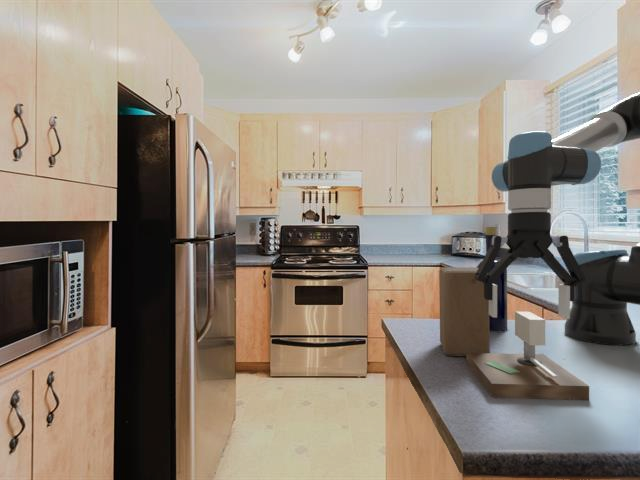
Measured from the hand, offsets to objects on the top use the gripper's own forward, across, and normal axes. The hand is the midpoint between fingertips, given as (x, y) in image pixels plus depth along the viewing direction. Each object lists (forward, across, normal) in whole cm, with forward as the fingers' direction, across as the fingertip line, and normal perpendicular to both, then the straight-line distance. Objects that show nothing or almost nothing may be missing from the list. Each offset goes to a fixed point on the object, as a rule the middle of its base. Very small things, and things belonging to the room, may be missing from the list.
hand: (527, 316), depth 74 cm
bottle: (+12, -5, -35) cm, 38 cm away
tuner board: (+12, +2, +3) cm, 12 cm away
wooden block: (+12, +9, -14) cm, 20 cm away
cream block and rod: (+9, 0, +3) cm, 9 cm away
